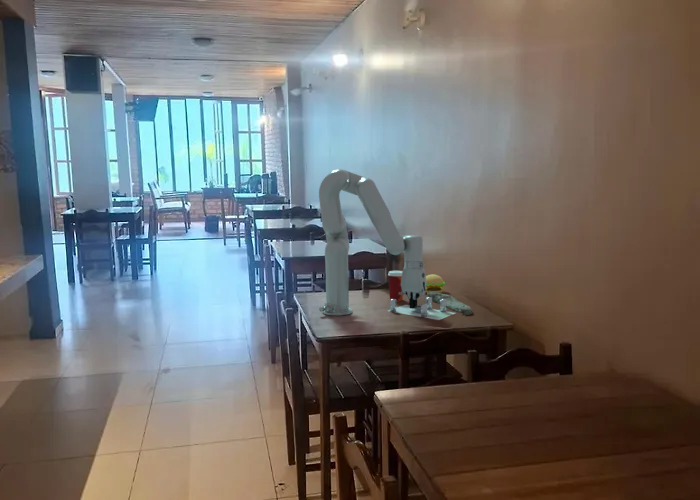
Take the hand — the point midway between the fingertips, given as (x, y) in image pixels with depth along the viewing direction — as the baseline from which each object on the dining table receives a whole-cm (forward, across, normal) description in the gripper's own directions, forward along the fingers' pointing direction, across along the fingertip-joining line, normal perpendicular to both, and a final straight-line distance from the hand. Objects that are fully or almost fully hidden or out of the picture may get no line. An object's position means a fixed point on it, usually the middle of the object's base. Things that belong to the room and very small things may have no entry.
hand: (413, 307), depth 247 cm
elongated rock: (+3, -6, -20) cm, 21 cm away
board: (+2, -4, 0) cm, 5 cm away
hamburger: (+3, +15, -42) cm, 44 cm away
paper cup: (+2, +17, -12) cm, 21 cm away
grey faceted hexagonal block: (+1, -4, +1) cm, 4 cm away
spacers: (+1, -2, 0) cm, 3 cm away
